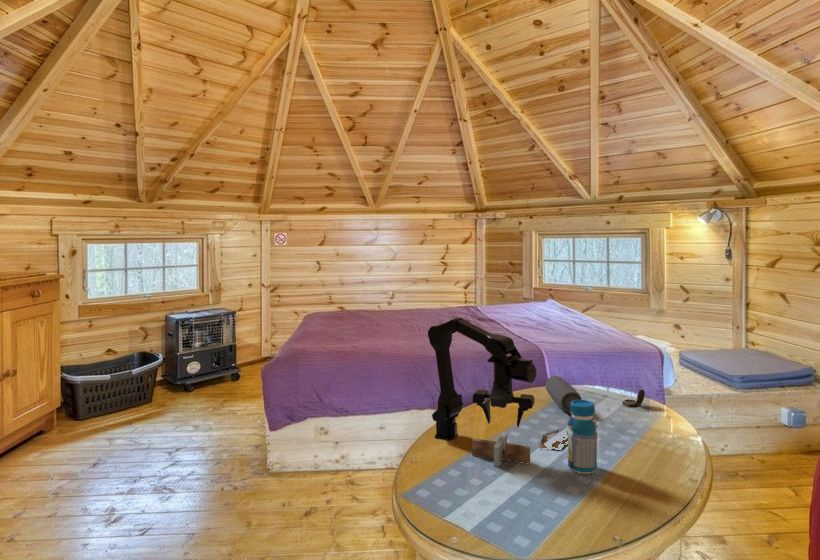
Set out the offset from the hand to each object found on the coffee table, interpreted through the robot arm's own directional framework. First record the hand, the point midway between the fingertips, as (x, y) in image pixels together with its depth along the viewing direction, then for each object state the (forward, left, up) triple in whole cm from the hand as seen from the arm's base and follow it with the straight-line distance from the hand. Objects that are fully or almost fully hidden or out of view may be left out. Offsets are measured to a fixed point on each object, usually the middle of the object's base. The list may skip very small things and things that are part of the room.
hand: (503, 425), depth 153 cm
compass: (+39, +62, -10) cm, 74 cm away
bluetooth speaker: (+13, +53, -10) cm, 55 cm away
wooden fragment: (+16, +20, -10) cm, 27 cm away
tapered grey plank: (0, -3, -10) cm, 10 cm away
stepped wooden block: (0, -3, -10) cm, 10 cm away
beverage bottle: (+24, -1, -10) cm, 26 cm away
